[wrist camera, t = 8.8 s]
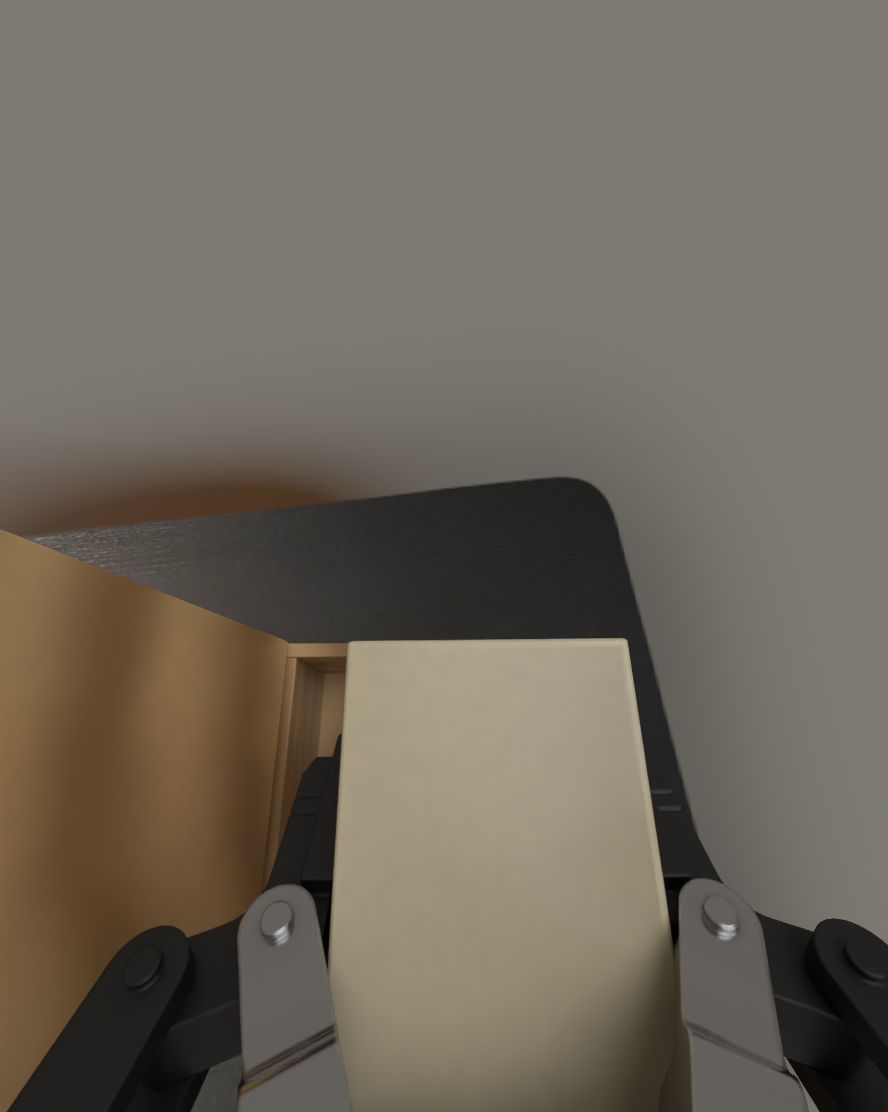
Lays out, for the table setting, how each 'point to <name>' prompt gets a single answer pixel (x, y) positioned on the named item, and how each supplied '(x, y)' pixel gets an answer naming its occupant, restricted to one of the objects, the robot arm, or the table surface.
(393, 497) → the table surface
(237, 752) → the chest lid
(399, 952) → the biscuit tin
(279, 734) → the chest
